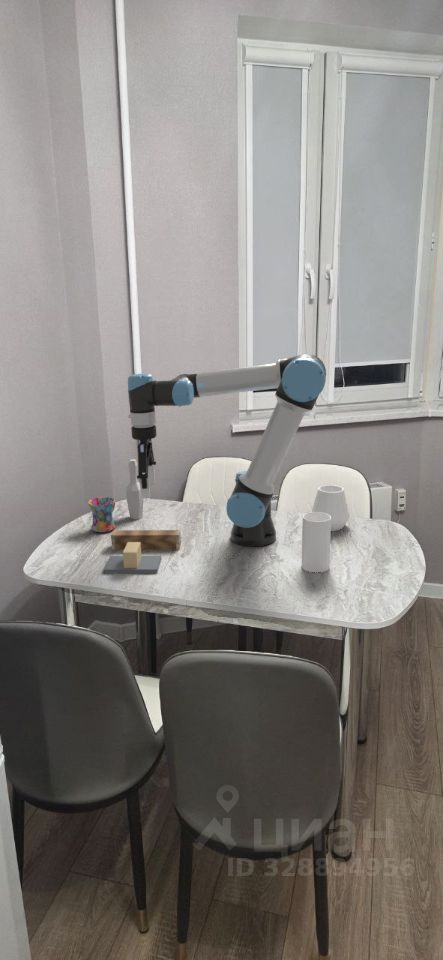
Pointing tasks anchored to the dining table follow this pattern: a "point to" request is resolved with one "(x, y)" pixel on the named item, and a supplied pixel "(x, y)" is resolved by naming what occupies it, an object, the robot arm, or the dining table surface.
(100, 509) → the mug
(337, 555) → the dining table surface
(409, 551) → the dining table surface
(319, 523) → the cup
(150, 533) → the beam
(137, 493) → the low poly bottle
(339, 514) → the white tapered vase
